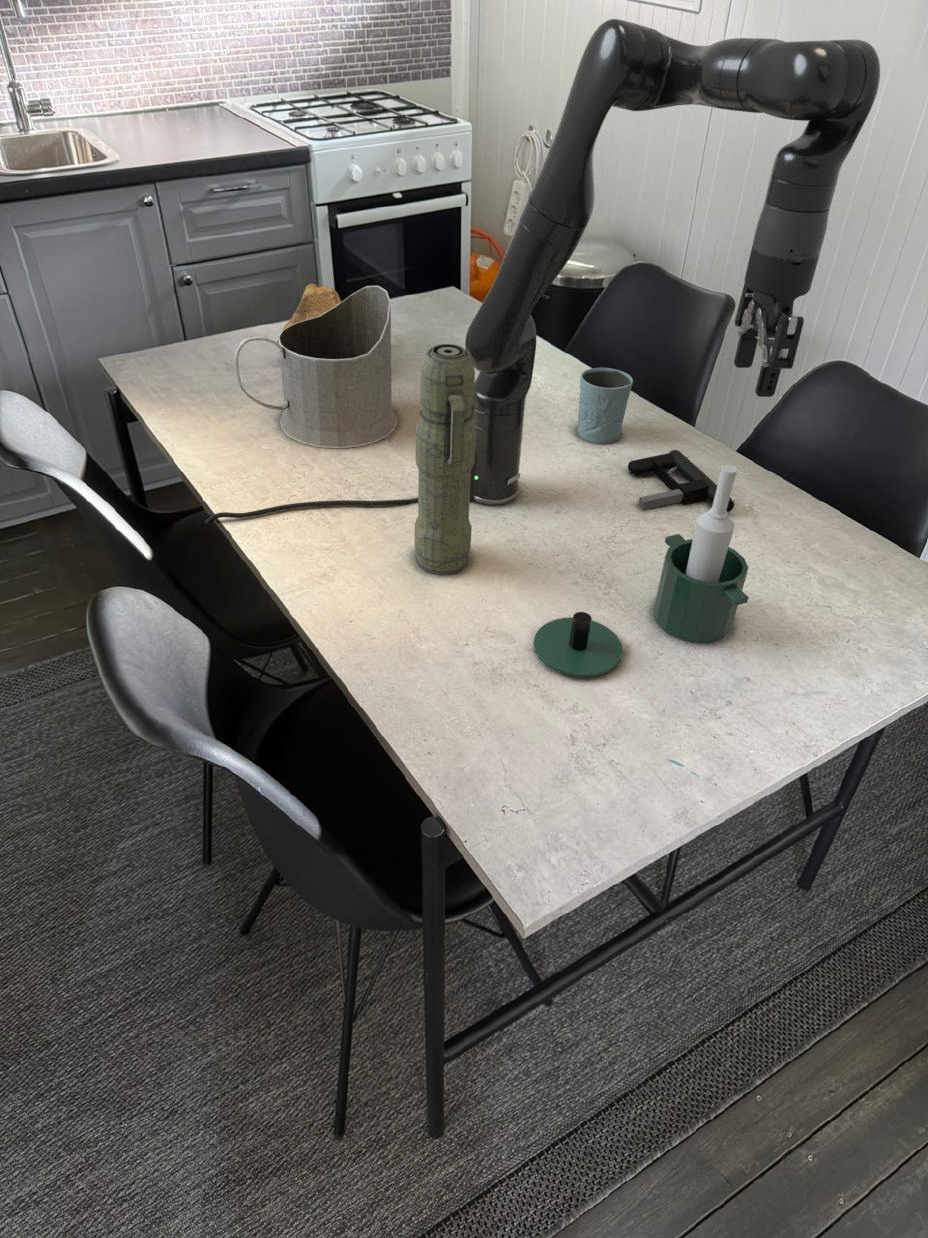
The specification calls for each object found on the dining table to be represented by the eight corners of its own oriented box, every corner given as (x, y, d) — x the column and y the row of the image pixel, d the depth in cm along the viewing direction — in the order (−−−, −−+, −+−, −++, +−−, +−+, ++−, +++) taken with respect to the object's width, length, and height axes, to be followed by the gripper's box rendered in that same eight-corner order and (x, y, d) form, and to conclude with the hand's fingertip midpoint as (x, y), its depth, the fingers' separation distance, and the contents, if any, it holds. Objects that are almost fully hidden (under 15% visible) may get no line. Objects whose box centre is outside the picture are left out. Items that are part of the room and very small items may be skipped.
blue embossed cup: (567, 438, 181) (574, 381, 174) (581, 418, 189) (588, 362, 181) (616, 449, 179) (625, 392, 171) (629, 428, 186) (638, 372, 179)
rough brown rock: (270, 351, 211) (258, 288, 201) (338, 337, 216) (331, 274, 206) (297, 396, 195) (286, 329, 185) (370, 379, 200) (363, 314, 190)
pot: (693, 662, 129) (708, 604, 123) (629, 595, 141) (640, 538, 135) (758, 643, 133) (777, 585, 127) (691, 579, 145) (704, 523, 139)
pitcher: (417, 431, 181) (418, 307, 165) (268, 469, 167) (254, 336, 152) (363, 387, 196) (360, 269, 180) (222, 418, 182) (205, 293, 167)
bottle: (713, 610, 138) (752, 465, 123) (705, 629, 135) (744, 482, 119) (679, 601, 140) (714, 456, 124) (671, 619, 136) (705, 472, 121)
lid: (559, 689, 124) (564, 655, 120) (518, 634, 133) (521, 601, 129) (638, 667, 128) (645, 633, 124) (592, 615, 137) (598, 582, 133)
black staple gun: (661, 515, 156) (742, 497, 160) (608, 460, 170) (683, 444, 174) (658, 531, 158) (739, 512, 162) (606, 475, 172) (681, 460, 176)
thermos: (431, 585, 141) (435, 371, 119) (403, 545, 149) (402, 338, 128) (482, 573, 144) (496, 362, 122) (452, 535, 153) (460, 331, 131)
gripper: (735, 227, 109) (707, 357, 119) (775, 265, 98) (741, 405, 108) (796, 228, 109) (763, 358, 120) (843, 267, 98) (802, 406, 108)
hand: (752, 380), depth 114 cm, fingers open, 8 cm apart
